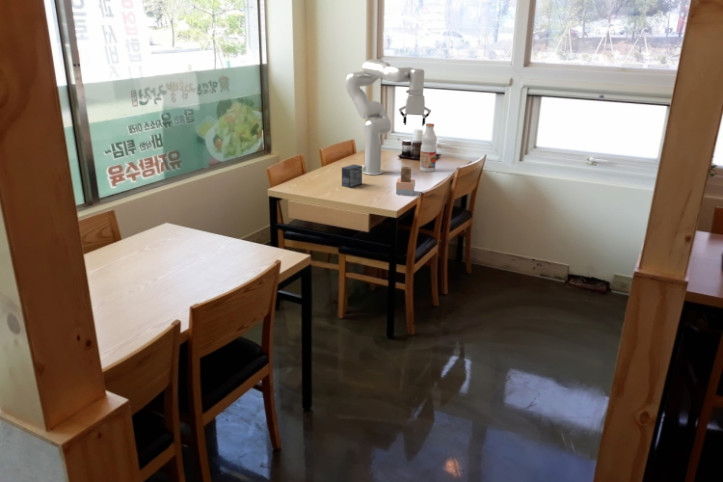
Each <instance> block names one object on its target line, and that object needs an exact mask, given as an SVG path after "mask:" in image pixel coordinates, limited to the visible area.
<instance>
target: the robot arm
mask: <svg viewBox="0 0 723 482" xmlns="http://www.w3.org/2000/svg"><path fill="white" fill-rule="evenodd" d="M361 68H362V71H353V72H350V73H348V74H347V76H346V78H345V82H344V83H345V88H346V91H347V94H348V95H349V97H350V98H351V100H352V102H353V104H354V106H355V108H356V111H357V112H358V114H359V116H360V117H361V119H363V120H366V122H365V123H364V125H363V133H364V164H362V165H360V164H359V165H360V166H362V175H369V176H381V175H382V174H383V173H384V170H382V169H381V165H382V161H381V160H382V139H381V137H380V135H385V134H388V133H390V131H391V130H392V124H391V120H390V118H389V116H388V114H387V112H386V110H385V108H384V106H383V105H382V103H381V102H379V101H375V100H374V101H370V99H369V98H368V95H367V94H366V92H365V91H364V90H363V89H362V88H361V87H369V86H371V85H373V84H374V83H375V82H377V81H378V79H381V78H382V79H384V80H385V81H388V82H392V83H409V86H408V87H409V88H408V90H407V89H406V91H405V93H406V94H407V95H406V100H405V101H406V102H405V105H404V106H402V107H400V108H399V109H398V111H399V113H400V116H402V117H403V121H402V122H403V124H404V126H405V125H407V116H408V115H409V116H410V115H411V116H412V115H413V116H422V122H421V123H422V124H421V125H422V127H424V126H425V125H426V118H427V117H428V116H430V114H431V113H432V110H431V109H430V108H428V107H427V106H426V105H425V103H426V102H425V96H424V85H425V84H424V82H425V70H424V69H423V68H415V67H414V68H413V67H411V66H409V67H408V66H407V67H405V66H404V67H394V66H391V64H390V63H389V62H386V61H384V60H383V59H380V58H377V59H376V58H374V59H373V58H371V59H367V60H365V61H363V63H362V67H361ZM403 110H405V113H404V112H403ZM425 111H426V114H425Z"/></svg>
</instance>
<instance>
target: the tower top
mask: <svg viewBox="0 0 723 482" xmlns="http://www.w3.org/2000/svg"><path fill="white" fill-rule="evenodd" d="M395 183H396V184H395V190H396V189H405V190H414V191H415V187H416V179H415V178H411V182H401V177H398V178H397V179H396V182H395Z"/></svg>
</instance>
